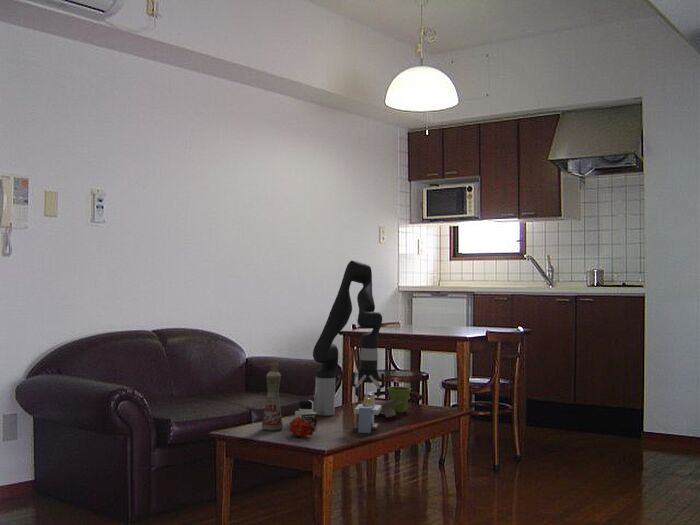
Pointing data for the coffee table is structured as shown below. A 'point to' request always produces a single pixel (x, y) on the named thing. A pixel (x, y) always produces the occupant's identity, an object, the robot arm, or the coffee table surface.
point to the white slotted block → (389, 407)
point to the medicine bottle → (307, 412)
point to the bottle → (272, 401)
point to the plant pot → (399, 397)
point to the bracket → (365, 418)
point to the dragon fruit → (301, 427)
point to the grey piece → (374, 411)
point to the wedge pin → (367, 401)
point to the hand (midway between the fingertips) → (367, 397)
